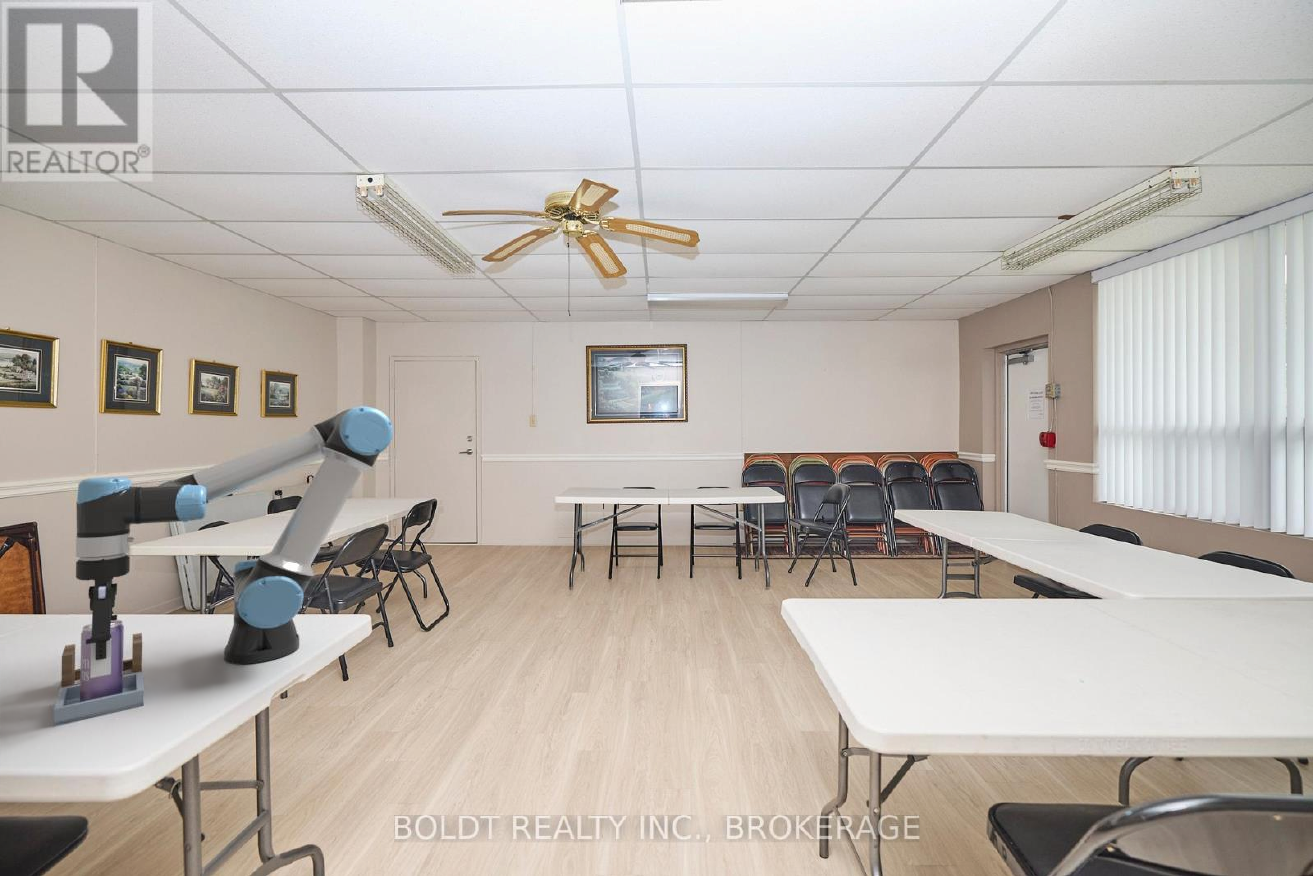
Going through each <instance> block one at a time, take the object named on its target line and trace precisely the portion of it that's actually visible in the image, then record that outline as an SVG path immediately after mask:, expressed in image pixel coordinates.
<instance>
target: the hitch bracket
mask: <svg viewBox="0 0 1313 876" xmlns="http://www.w3.org/2000/svg"><path fill="white" fill-rule="evenodd" d="M131 653H132V656H131V657H132V658H130V659H125V660H124V659H123V672H126V671H131V670H132V671H131V672H127V673H123V675H128V674H133V673H137V672H142V671H143V633H142V632H140V633H133V634H132V651H131ZM79 680H80V668H77V669H76V643H73V644H66V645H65V646H64V648H63V651H62V654H61V686H60V688H63V687H68V686H73V685H78V684H80V682H79V683H75V682H76V681H79Z"/></svg>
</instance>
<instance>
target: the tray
mask: <svg viewBox="0 0 1313 876" xmlns="http://www.w3.org/2000/svg"><path fill="white" fill-rule="evenodd" d="M143 672H144V671H143V670H142V672H137V673H133V674H128V673H127V674H128V675H123V693H120V694H116V695H111V696H106V697H102V698H97V699H93V700H88V701H83V702H80V684H78V683H77V684H78V685H73V686H68V687H63V688H61V687H60V688H59V691H58V694H57V698H56V700H55V704H54V709H53V727H57V726H61V725H65V724H71V723H74V722H78V721H82V720H87V719H90V718H91V719H92V718H96V717H99V716H103V715H104V716H105V715H108V714H113V713H117V712H121V711H125V710H129V709H130V710H131V709H135V708H138V707H143V706H144V705H145V704H144V703H145V702H144V696H145V695H144V693H145V691H144V688H145V687H144V673H143Z"/></svg>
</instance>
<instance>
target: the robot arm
mask: <svg viewBox="0 0 1313 876" xmlns="http://www.w3.org/2000/svg"><path fill="white" fill-rule="evenodd" d="M393 436H394V429H393V423H392V422H391V420H390V418H389V417H388V416H387V415H386V414H385V413H384V412H383V411H381V410H380V409H377V408H375V407H370V406H365V405H364V406H363V405H361V406H356V407H353V408H348V409H346V410H343V411H341V412H339V413H338V414H335V415H333V416H332V417H330V418H328V419H325V420H324V421H321V422H318V423H316V424H313V425H311V426H310V428H309V431H306V432H303V433H301V434H297V435H294V436H292V437H289V438H287V439H283V440H281V441H277V442H276V443H272V444H270V445H268V446H265V447H261V448H259V449H256V450H253V451H252V452H251V451H250V452H249V453H248V452H247V453H246V454H243V455H240V456H237V457H234V458H232V459H228V460H226V461H223V462H220V463H218V464H215V465H213V466H210V467H207V468H204V469H202V470H199V471H196V472H193V473H191V474H188V475H185V476H182V477H179V478H176V479H174V480H169V481H166V482H164V483H161V484H158V486H157V485H156V486H133V485H132V482H131V479H130V478H129V477H115V476H113V477H112V476H111V477H93V478H92V477H91V478H86V479H83V480H81V481H80V482H79V483H78V488H77V499H76V502H75V503H76V536H75V557H77V558H79V559H78V560H77V561H76V562H75V578H76V579H77V580H79V581H94V585H91V586H89V587H88V594H87V595H88V599H89V610H90V611H91V612H92V615H91V616H92V617H91V624H92V637H91V638H90V639H86V644H91V673H90V678H94V677H99V676H104V675H109V674H111V634H110V627H111V620H118V614H114V611H113V608H115V605H116V604H115V603H116V602H115V601H116V596H117V594H118V583H115V582H114V583H113V579H114V578H119V577H123V576H125V575H128V574H129V573H130V569H131V568H130V565H131V564H130V563H131V561H130V560H131V558H130V557H131V556H129V555H128V553H129V552H130V547H131V546H130V543H133V542H134V541H135V538H134V537H133V536H130V533H131V528H130V527H131V525H141V524H155V523H158V524H159V523H174V522H175V523H177V522H183V523H187V522H190V521H198V520H199V521H201V520H203V519H205V518H206V515H207V504H209V503H211V502H214V501H217V500H219V499H222V498H224V497H226V496H229V495H232V494H235V493H237V492H240V491H243V490H245V489H247V488H250V487H252V486H255V485H258V484H260V483H263V482H266V481H268V480H270V479H274V478H275V477H277V476H280V475H281V476H282V475H284V474H286V473H289V472H291V471H294V470H295V469H298V468H301V467H303V466H307V465H309V464H312V463H315V462H316V461H319V460H321V459H323V461H322V463H321V465H320V466H319V468H318V470H317V472H316V473H315V475H314V477H313V479H312V480H311V482H310V484H309V486H308V487H307V489H306V490H305V493H304V495H303V496H302V498H301V500H300V501H299V503H298V505H297V506H296V508H295V510H294V512H293V514H292V516H290V519H289V520H288V522H287V524H286V526H285V527H284V529H283V531H282V532H281V534H280V536H279V537H278V539H277V542H276V543H275V545H274V547H273V549H272V550H271V551H270V552H268V553H265V554H263V555H260V556H259V557H258V558H253V559H252V558H251V559H245V560H240V561H238V562H236V564H235V565H234V571H233V573H232V574H233V575H232V576H234V577H233V580H234V581H233V586H234V587H233V626H232V629H231V633H230V634H229V637H228V641H227V644H226V645H225V647H224V649H223V660H224V662H226V663H229V664H236V665H237V664H238V665H239V664H240V665H247V664H256V663H257V664H258V663H262V662H263V663H264V662H268V661H273V660H276V659H280V658H283V657H285V656H288V655H290V654H291V655H292V654H293V653H294V652H295V651H297V650H298V649H300V635H299V633H297V632H298V631H297V627H296V625H295V622H294V617H296V615H297V614H298V613H299V611H300V610H301V608H302V606H303V603H304V595H305V594H304V593H305V591H306V589H307V588H308V585H309V584H310V582H311V580H312V578H313V576H314V574H315V573H314V570H313V568H312V564H313V562H314V560H315V558H316V556H317V554H318V553H319V551H320V549H321V547H322V545H323V543H324V541H325V539H327V536H328V534H329V533H330V531H331V528H332V527H333V525H334V523H335V522H336V519H337V518H338V516H339V514H340V512H341V511H342V509H343V507H344V505H345V504H346V502H347V499H348V498H349V496H350V494H351V493H352V491H353V489H354V487H355V485H356V484H357V481H358V480H359V478H360V477H361V474H362V473H363V472H366V471H368V470H371V469H372V468H373V466H374V465H375V463H376V461H377V459H378V457H379V455H380V454H381V453H383V452H384V451H385V450H386V449H387V448H388V447H389V445H390V444H391V442H392V440H393V438H394V437H393ZM101 633H104V634H101ZM106 633H107V634H106ZM97 634H98V635H97Z"/></svg>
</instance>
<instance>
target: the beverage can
mask: <svg viewBox="0 0 1313 876" xmlns="http://www.w3.org/2000/svg"><path fill="white" fill-rule="evenodd" d="M124 629H125V628H124V625H123V620H118V619H117V620H111V627H110V634H111V674H109V675H104V676H99V677H94V678H90V673H91V644H86V639H90V638H91V637H92V623H89V624H86V625H85V626H83V627H82V631H81V633H80V668H79V669H80V681H79V683H80V702H83V701H88V700H93V699H97V698H102V697H106V696H111V695H116V694H120V693H123V674H124V671H123V661H124V641H125V640H124V638H125V637H124V632H125V631H124ZM101 634H104V633H101ZM106 634H107V633H106ZM97 635H98V634H97Z"/></svg>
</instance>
